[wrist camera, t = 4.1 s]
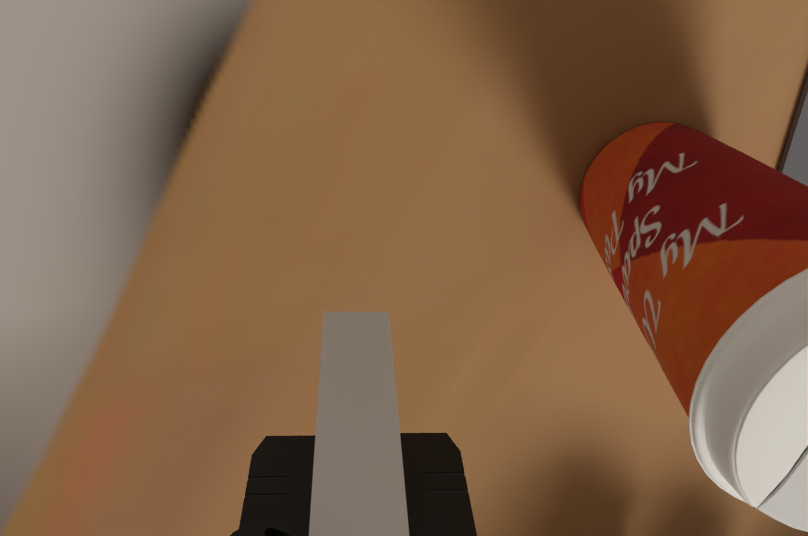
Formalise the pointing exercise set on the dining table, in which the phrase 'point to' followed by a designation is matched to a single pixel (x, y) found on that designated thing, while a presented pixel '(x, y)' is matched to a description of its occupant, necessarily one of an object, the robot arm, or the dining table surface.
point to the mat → (797, 143)
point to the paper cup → (715, 298)
